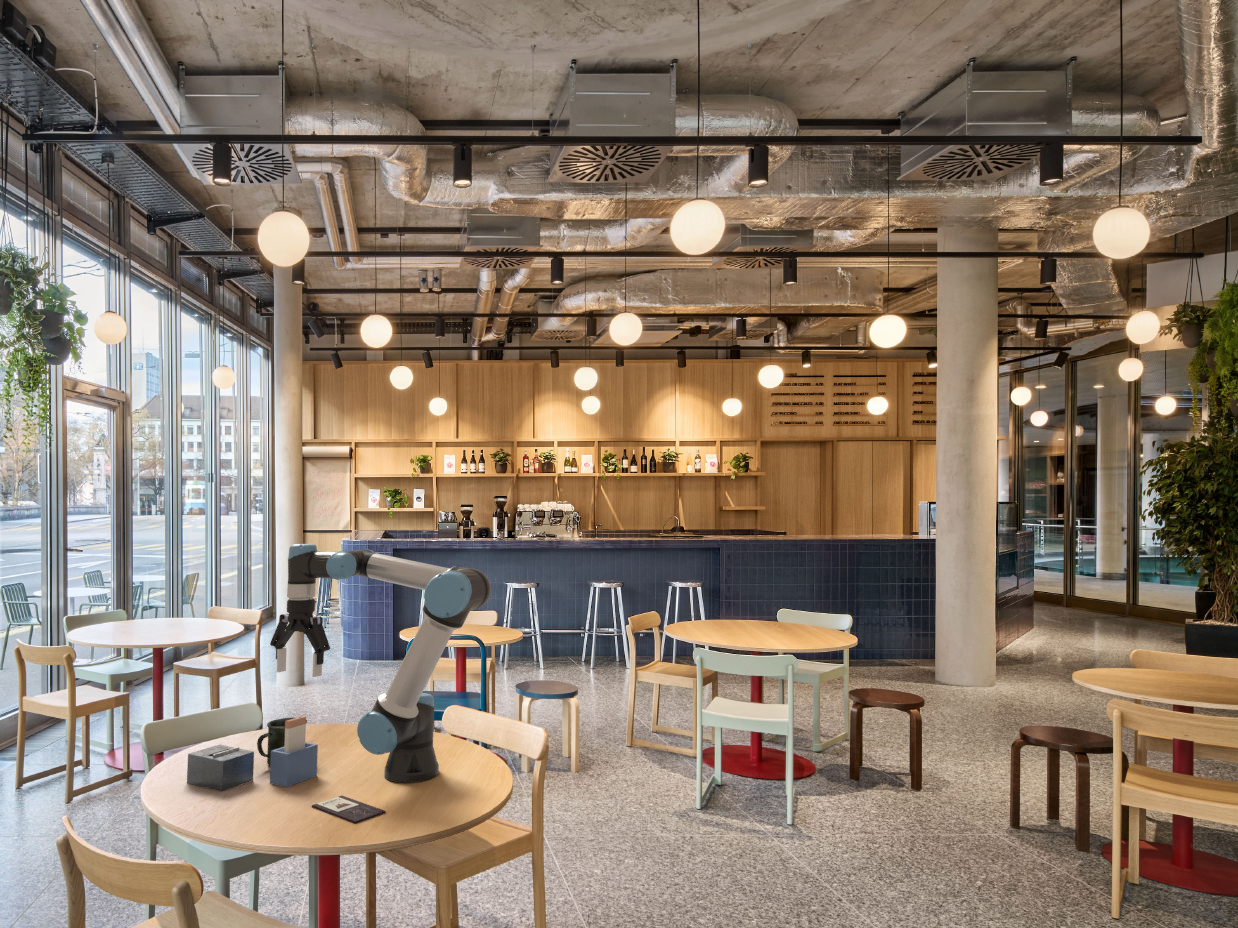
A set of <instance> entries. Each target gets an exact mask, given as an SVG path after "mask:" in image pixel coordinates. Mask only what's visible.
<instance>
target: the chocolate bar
mask: <svg viewBox="0 0 1238 928" xmlns="http://www.w3.org/2000/svg"><path fill="white" fill-rule="evenodd" d="M311 808H313V809H316V810H318V811H320V812H323V813H326V814H328V815H331V816H333V817H335V818H336V817H337V818H338V819H341V820H344V821H347V822H349V823H352V824H353V825H357V824H360V823H362V822H365V821H368V820H371V819H374V818H376V817H379V816H381V815H383V814H384V815H385V814H386V813H387V812H386V810H384V809H382V808H379V807H376V806H373V805H370V804H367V803H364V802H362V801H359V800H356V799H353V798H352V797H351V798H350V797H348V796H345V795H339V796H336V797H333V798H330V799H327V800H324V801H321V802H318V803H314V804H312V805H311Z"/></svg>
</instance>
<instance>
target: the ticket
mask: <svg viewBox="0 0 1238 928" xmlns="http://www.w3.org/2000/svg"><path fill="white" fill-rule="evenodd" d="M292 718H293V719H290V720H286V721H285V746H284V752H285V753H290V752H293V751H296V750H299V749H302V748H305V742H306V734H307V733H306V728H307V727H306V726H307V723H306V720H307V716H305V715H301V716H297V717H292Z"/></svg>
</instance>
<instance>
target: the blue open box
mask: <svg viewBox="0 0 1238 928" xmlns="http://www.w3.org/2000/svg"><path fill="white" fill-rule="evenodd" d="M318 747H319V746H318V744H317V743H311V742H306V741H305V748H302V749H299V750H296V751H293V752H290V753H285V752H284V747H281V748H278V749H275V750H272V751H271V761H270V766H269V769H270V770H269V784H271V785H276V786H280V787H286V788H289V787H291V786H294V785H296V784H299V783H301V782H304V781H307V780H310V779H312V778H313V779H314V777H317V775H318V753H319V752H318V751H319V749H318Z"/></svg>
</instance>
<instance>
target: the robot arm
mask: <svg viewBox="0 0 1238 928" xmlns="http://www.w3.org/2000/svg"><path fill="white" fill-rule="evenodd" d="M317 547H318V546H317V544H314V543H295V544H294V543H293V544H291V545H290V546H289V549H288V556H287V577H288V578H287V589H286V590H287V591H286V597H287V600H286V612H287V613H284V614H283V613H282V614H280V615H279V619H278V624H277V626H276V628H275V631H274V633H273V635H272V637H271V640H270V643H269V644H270V645H269V646H271V647H274V648H275V659H276V673H283V672H286V671H287V647H286V645H287V643H288V642H289V641H290V639H291V637H292V636H293V635H294V633H296V632H299V633H303V634H304V635H305V636H306V638H307V640H308V641H309V643H310V644H311V646H312V648H313V650H314V652H313V653H312V674H311V675H312V678H316V677H320V676H322V674H323V672H322V671H323V664H324V655H325V653H326V652H327V651H330V649H331V646H330V643H329V641H328V638H327V637H328V636H327V635H326V632H325V629H324V625H323V617H322V616H320V615H319V616H314V612H315V610H316V599H315V597H316V585H317V583H316V581H317V579H329V580H331V579H332V580H337V581H338V580H349V579H350V578H351V577H362V578H366V579H373V580H377V581H382V582H386V583H391V584H396V585H400V586H404V587H408V588H412V589H417V590H418V589H419V590H420V591H421V590H422V591H424V594H423V600H424V605H423V607H422V613H423V616H424V618H423V620H422V622H421V624H420V626H419V628H418V630H417V632H416V634H415V636H414V638H413V639H412V642H411V644H410V646H409V647H408V650H407V652H406V654H405V656H404V657H403V660H402V662H401V663H400V666H399V668H398V669H397V672H396V674H395V676H394V678H393V680H392V682H391V683H390V686H389V688H388V689H387V691H384V692H382V693H380V694H379V695H378V697H377V699H376V701H375V703H374V705H373V708H372V709H371V711H367V712H365V714H364V715H363V716H362V717H360V719H359V721H358V723H357V729H356V733H357V737H358V738H359V744H361V746H362V747H363V749H365V750H366V751H367V752H368V753H370V754H372V755H377V756H381V755H385V754H388V757H387V759H386V764H385V767H384V771H383V772H384V778H385V779H386V780H388V781H390V782H394V783H419V782H423V781H429V780H432V779H433V778H435V777H437V776H438V774H439V773H440V772H439V769H440V767H439V762H438V761H437V755H436V752H435V748H434V723H435V722H434V721H435V698H434V696H433V695H432V694H431V693H426V692H424V691H425V688H426V686H427V684H428V682H429V681H430V679H431V676H432V674H433V672H434V671H435V668H436V667H437V665H438V663H439V661H440V659H441V656H442V655H443V653H444V651H445V649H446V647H447V645H448V643H449V641H450V639H451V638H452V637H451V636H452V635H453V633H454V631H456V630H460V629H462V628H463V625H464V624H465V622H466V620H467V618H468V615H469V613H470V612H472V611H475V610H479V609H480V608H482V607H483V606H484V605H485V604H486V603H487V602H488V600H489V598H490V596H491V593H492V587H491V581H490V579H489V577H488V576H487V575H486V574H485V573H484V572H483V571H482V570H479V569H477V568H471V567H463V566H458V565H454V566H452V567H451V568H449V567H443V566H439V565H435V564H429V563H425V562H420V561H416V560H410V559H406V558H401V557H395V556H392V555H387V554H382V553H376V552H375V551H374V550H372V549H365V548H360V549H353V550H341V551H340V550H339V551H318V549H317Z"/></svg>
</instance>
